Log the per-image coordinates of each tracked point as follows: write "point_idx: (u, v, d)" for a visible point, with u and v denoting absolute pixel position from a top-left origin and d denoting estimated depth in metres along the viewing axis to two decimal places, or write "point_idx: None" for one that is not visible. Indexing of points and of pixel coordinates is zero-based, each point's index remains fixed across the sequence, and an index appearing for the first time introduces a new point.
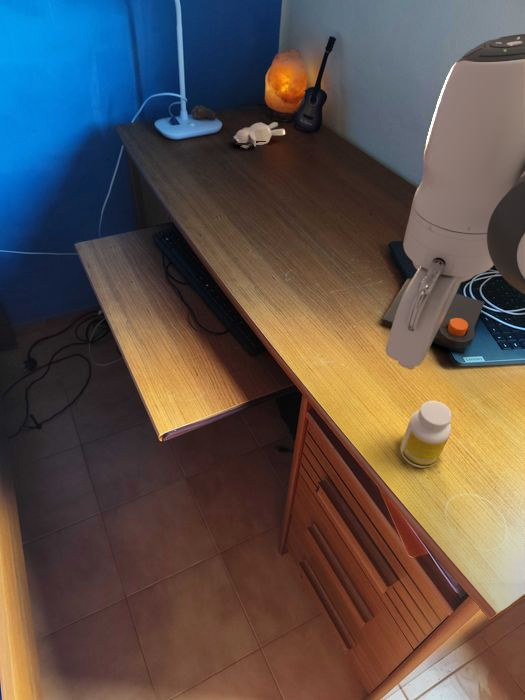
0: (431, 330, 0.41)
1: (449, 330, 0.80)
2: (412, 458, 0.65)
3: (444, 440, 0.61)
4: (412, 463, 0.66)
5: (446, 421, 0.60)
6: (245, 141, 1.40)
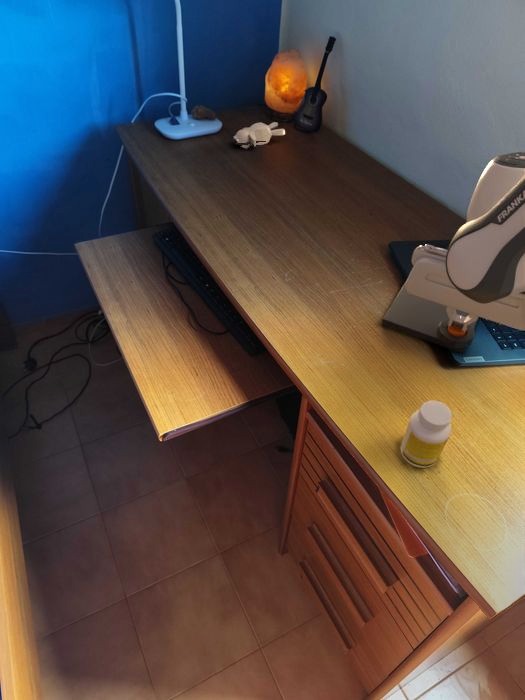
0: (413, 269, 0.76)
1: None
2: (412, 458, 0.65)
3: (444, 440, 0.61)
4: (412, 463, 0.66)
5: (446, 421, 0.60)
6: (245, 141, 1.40)
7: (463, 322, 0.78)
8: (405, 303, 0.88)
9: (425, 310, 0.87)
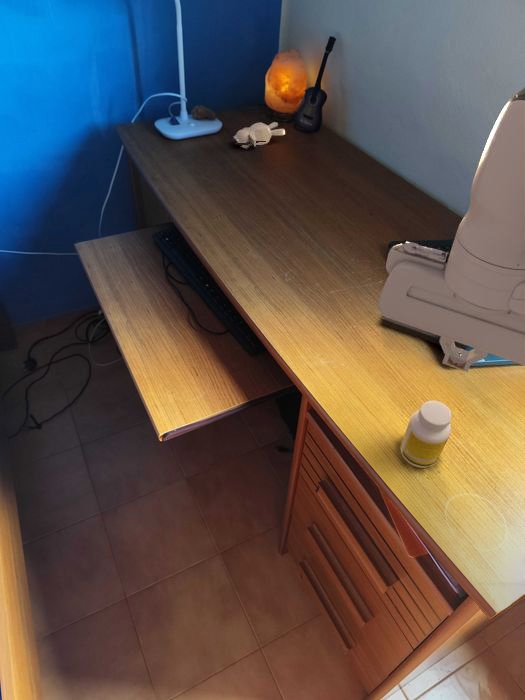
0: (388, 280, 0.49)
1: None
2: (412, 458, 0.65)
3: (444, 440, 0.61)
4: (412, 463, 0.66)
5: (446, 421, 0.60)
6: (245, 141, 1.40)
7: (465, 359, 0.52)
8: None
9: None
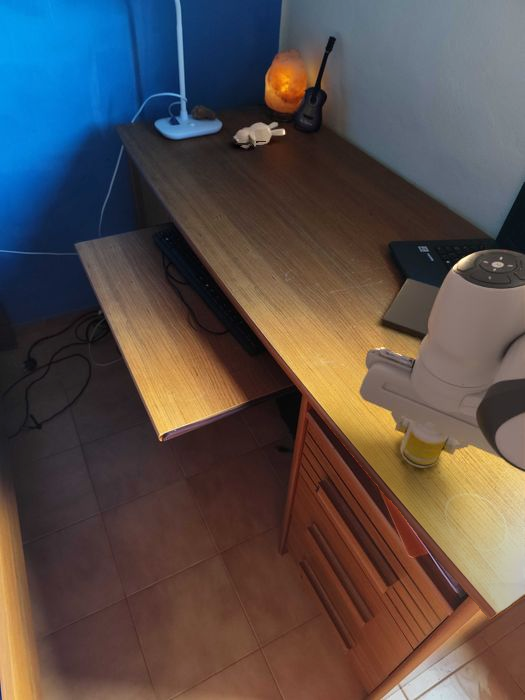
0: (367, 376, 0.60)
1: None
2: (412, 458, 0.65)
3: (444, 440, 0.61)
4: (412, 463, 0.66)
5: None
6: (245, 141, 1.40)
7: (451, 445, 0.62)
8: (405, 303, 0.88)
9: (425, 310, 0.87)
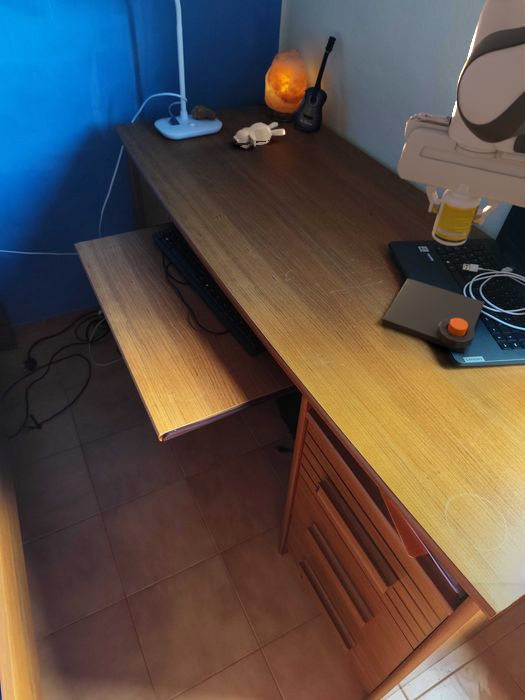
0: (406, 144, 0.67)
1: (449, 330, 0.80)
2: (444, 235, 0.71)
3: (475, 206, 0.68)
4: (444, 241, 0.72)
5: None
6: (245, 141, 1.40)
7: (480, 213, 0.68)
8: (405, 303, 0.88)
9: (425, 310, 0.87)
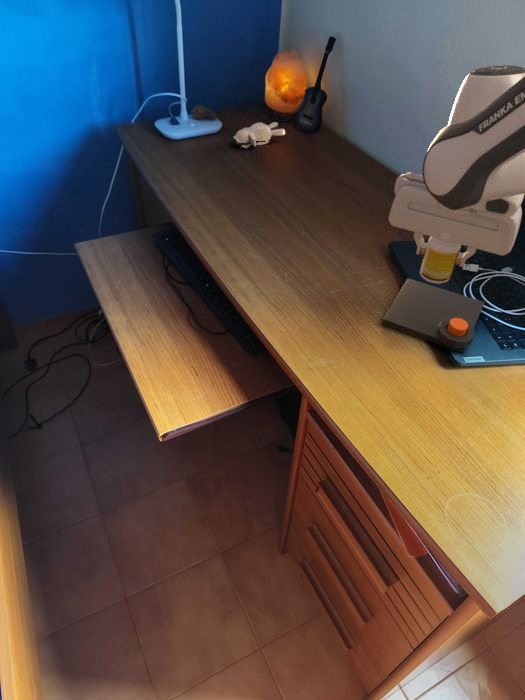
0: (396, 198, 0.77)
1: (449, 330, 0.80)
2: (430, 274, 0.82)
3: (456, 251, 0.78)
4: (430, 280, 0.82)
5: None
6: (245, 141, 1.40)
7: (461, 257, 0.79)
8: (405, 303, 0.88)
9: (425, 310, 0.87)
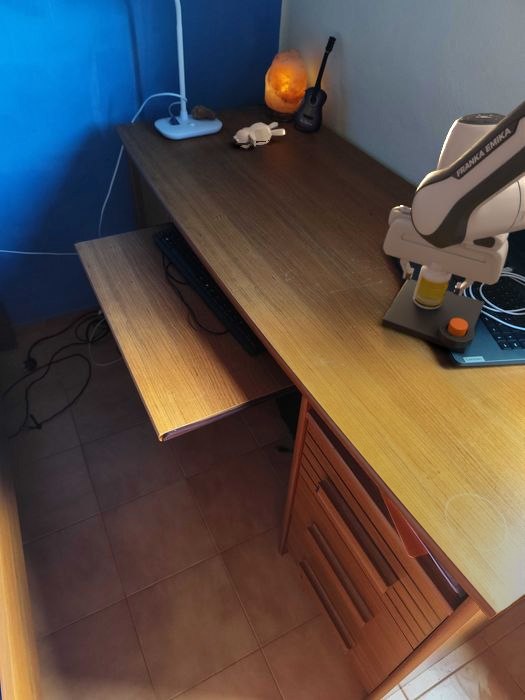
0: (390, 230, 0.81)
1: (449, 330, 0.80)
2: (422, 301, 0.86)
3: (446, 280, 0.82)
4: (422, 306, 0.87)
5: None
6: (245, 141, 1.40)
7: (459, 287, 0.82)
8: (405, 303, 0.88)
9: (425, 310, 0.87)
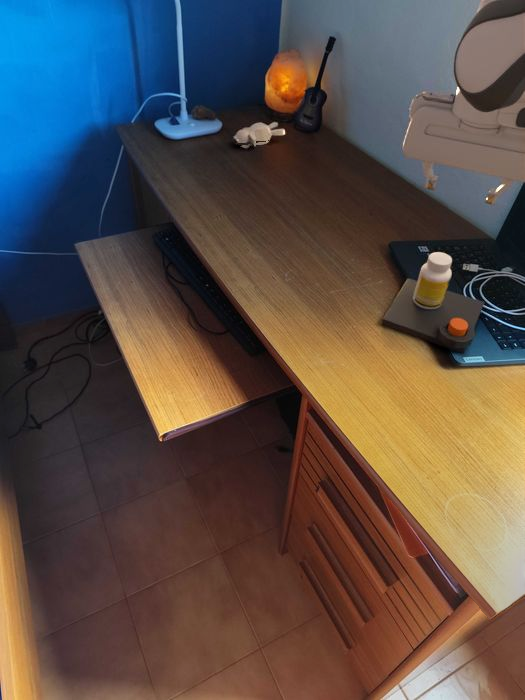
0: (411, 122, 0.68)
1: (449, 330, 0.80)
2: (422, 301, 0.86)
3: (446, 280, 0.82)
4: (422, 306, 0.87)
5: (448, 263, 0.81)
6: (245, 141, 1.40)
7: (494, 193, 0.70)
8: (405, 303, 0.88)
9: (425, 310, 0.87)
